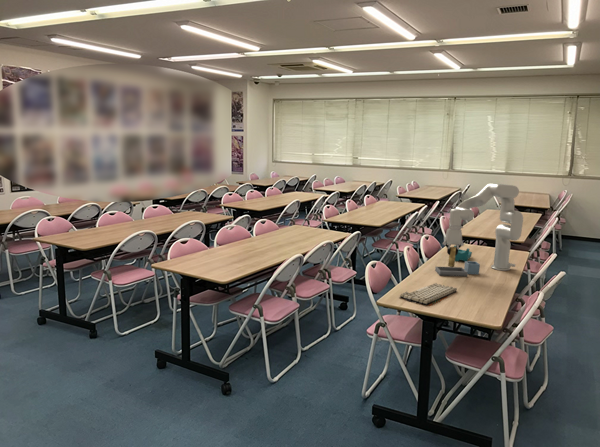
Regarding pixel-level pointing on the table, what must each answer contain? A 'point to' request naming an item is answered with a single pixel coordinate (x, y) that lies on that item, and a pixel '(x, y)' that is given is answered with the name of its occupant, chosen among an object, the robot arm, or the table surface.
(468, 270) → the blue box
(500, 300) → the table surface
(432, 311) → the table surface
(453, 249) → the dowel
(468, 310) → the table surface
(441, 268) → the tray
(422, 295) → the mechanical keyboard
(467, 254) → the teal notched holder
